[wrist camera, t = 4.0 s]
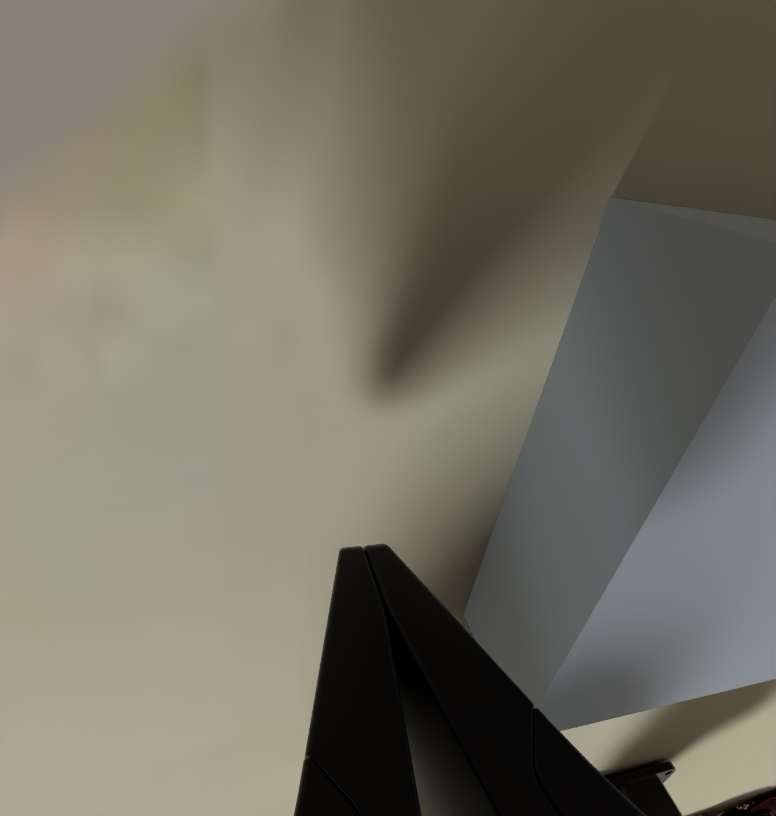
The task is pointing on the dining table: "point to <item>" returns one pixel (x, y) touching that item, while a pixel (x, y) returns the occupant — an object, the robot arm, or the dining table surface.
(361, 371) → the dining table surface
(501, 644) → the blue-grey square block
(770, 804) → the plate with food
